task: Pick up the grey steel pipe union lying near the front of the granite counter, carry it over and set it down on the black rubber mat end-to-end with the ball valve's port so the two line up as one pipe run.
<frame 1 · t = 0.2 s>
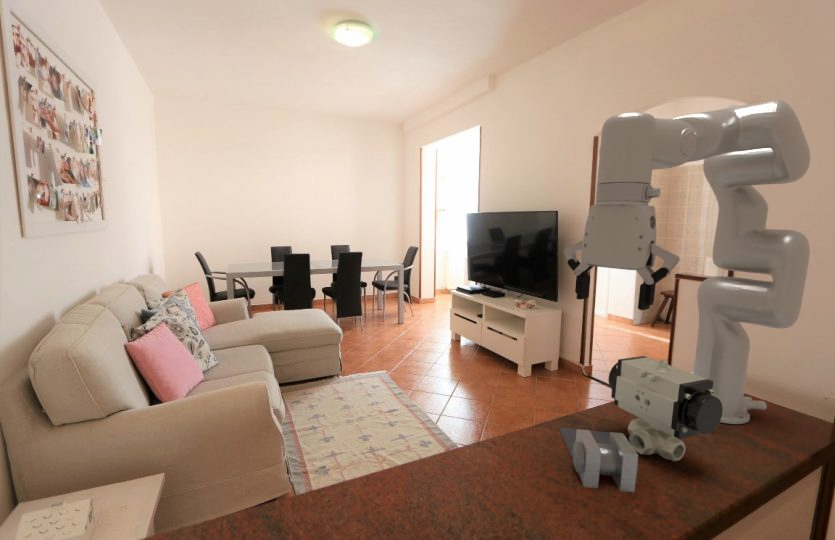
hand: (611, 303, 65), 30 cm above the worktop, tool pointing down, fingers open, 9 cm apart
joint mat: (591, 444, 77), on the worktop
ball valve: (651, 451, 76), on the worktop
pipe union: (602, 477, 68), on the worktop
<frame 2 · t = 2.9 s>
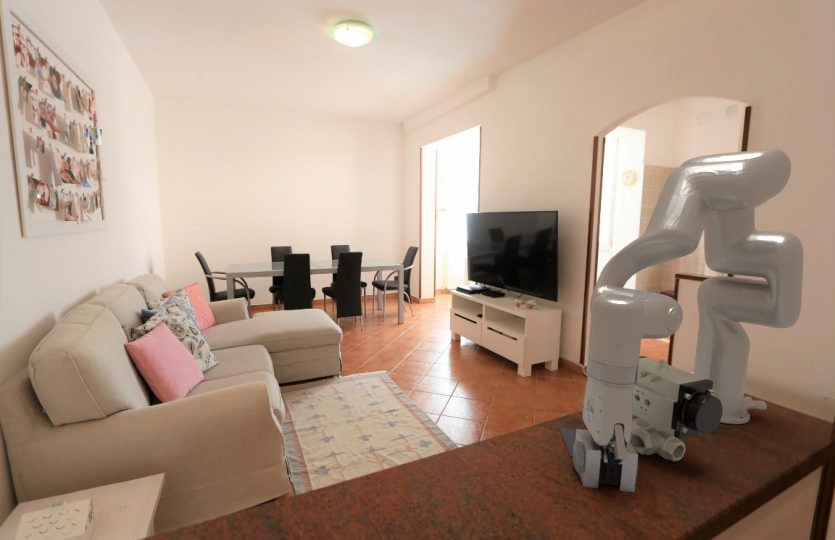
hand: (602, 471, 67), 1 cm above the worktop, tool pointing down, fingers closed on pipe union, 4 cm apart
pipe union: (602, 476, 68), on the worktop, touching gripper
everything else where it was.
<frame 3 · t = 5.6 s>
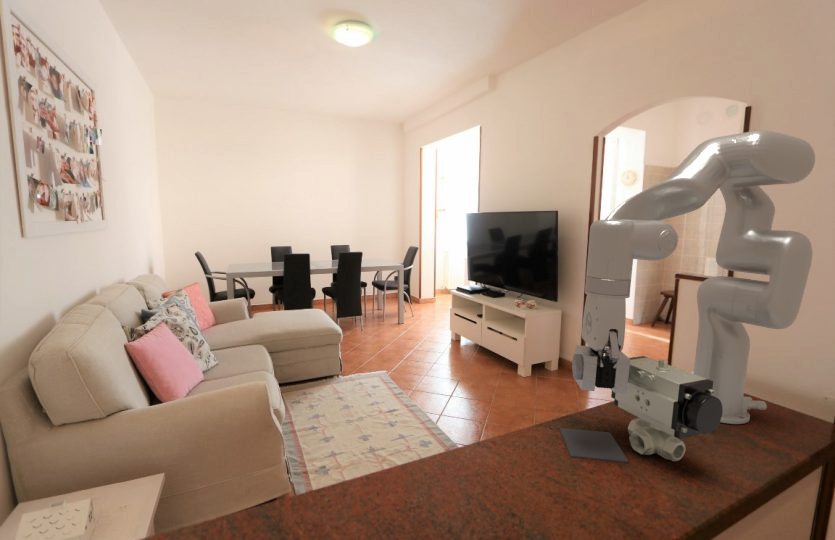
hand: (599, 380, 76), 13 cm above the worktop, tool pointing down, fingers closed on pipe union, 4 cm apart
pipe union: (598, 384, 76), point 12 cm above the worktop, touching gripper
everything else where it was.
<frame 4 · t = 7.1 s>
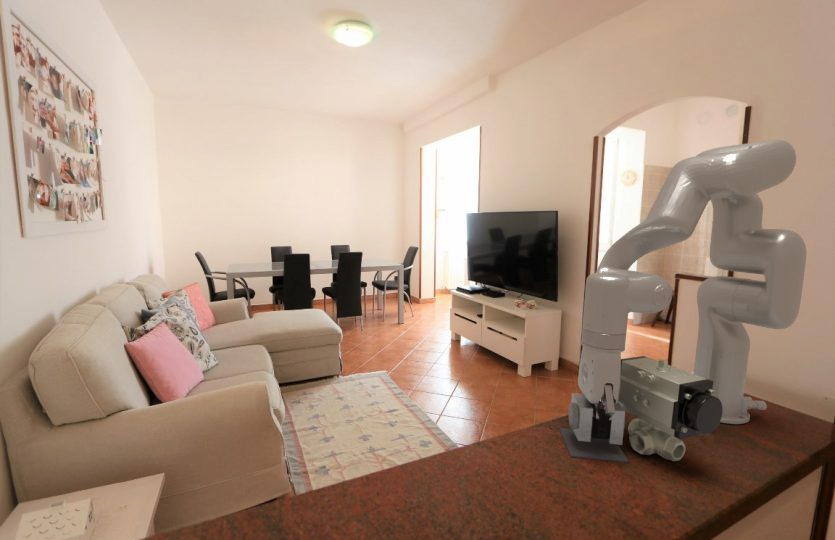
hand: (595, 429, 77), 3 cm above the worktop, tool pointing down, fingers closed on pipe union, 4 cm apart
pipe union: (594, 433, 77), point 2 cm above the worktop, touching gripper
everything else where it was.
when the fingers open (2 cm above the worktop, at t = 8.2 s): pipe union stays where it is, resting on joint mat.
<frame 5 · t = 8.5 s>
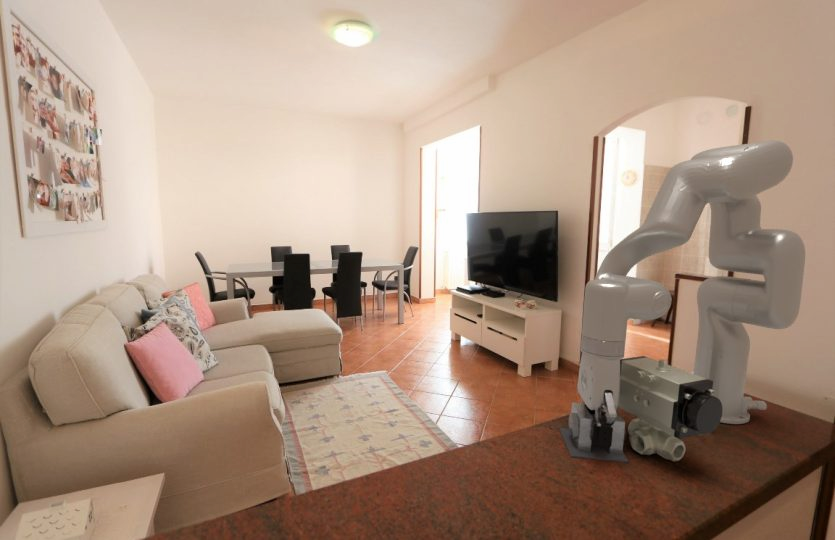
hand: (595, 433, 77), 2 cm above the worktop, tool pointing down, fingers open, 7 cm apart
pipe union: (594, 443, 77), resting on joint mat
everything else where it was.
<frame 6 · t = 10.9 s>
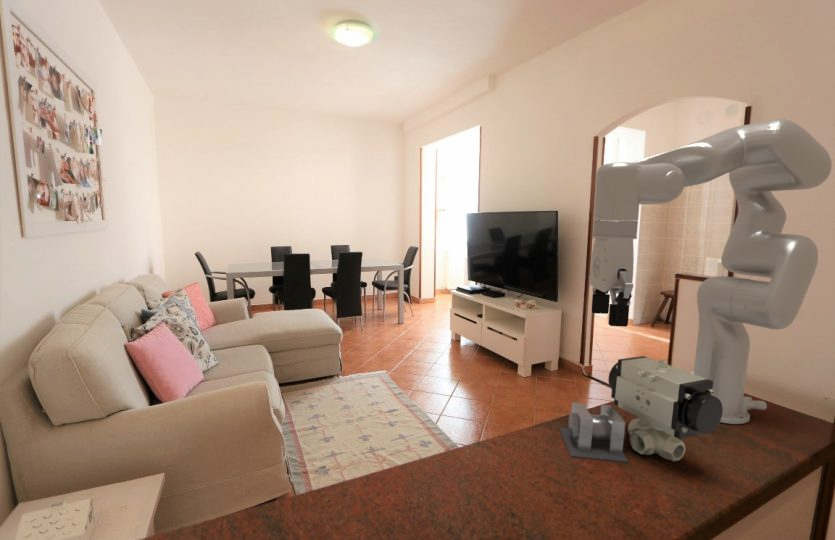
hand: (608, 319, 77), 24 cm above the worktop, tool pointing down, fingers open, 9 cm apart
nothing on the worktop moved.
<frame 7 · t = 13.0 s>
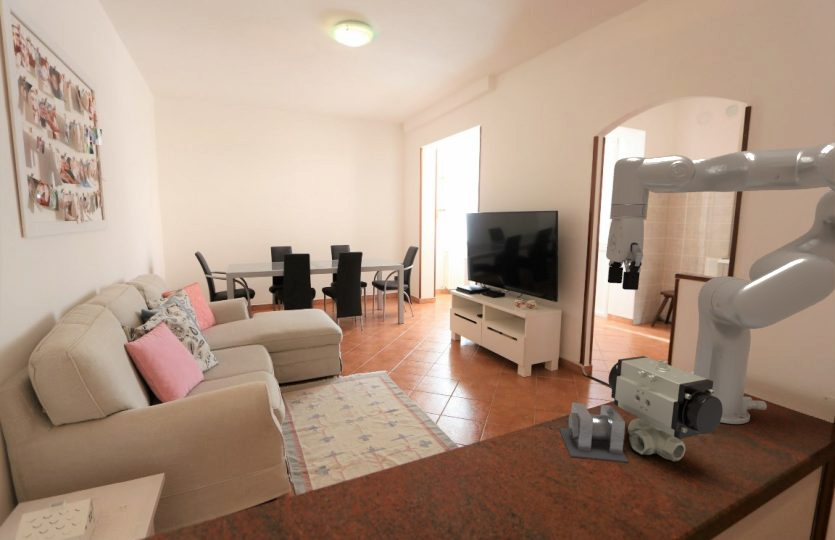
hand: (621, 286, 94), 28 cm above the worktop, tool pointing down, fingers open, 9 cm apart
nothing on the worktop moved.
at the end: pipe union 0.4 cm from the target spot on the worktop beside the ball valve, point 0.5 cm above the worktop; pipe union tilted 0°; ball valve moved 0.2 cm from its start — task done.
